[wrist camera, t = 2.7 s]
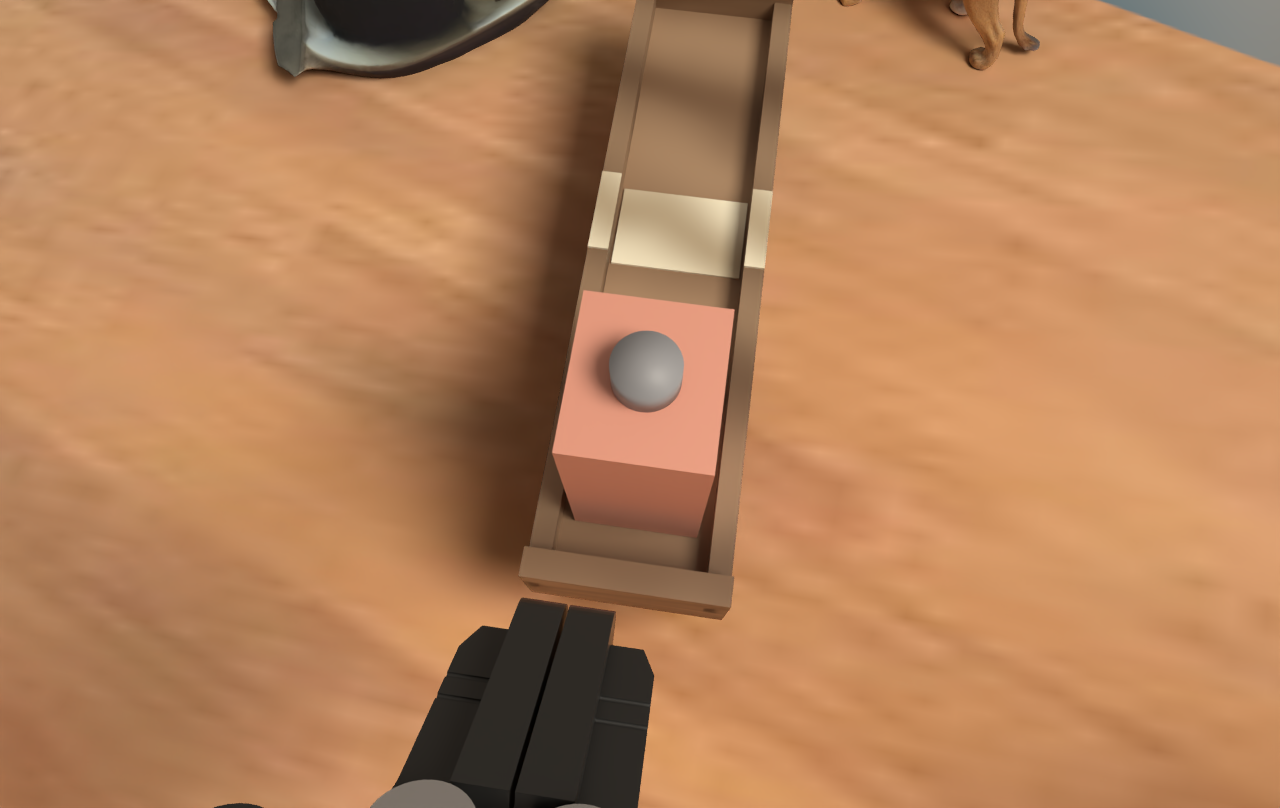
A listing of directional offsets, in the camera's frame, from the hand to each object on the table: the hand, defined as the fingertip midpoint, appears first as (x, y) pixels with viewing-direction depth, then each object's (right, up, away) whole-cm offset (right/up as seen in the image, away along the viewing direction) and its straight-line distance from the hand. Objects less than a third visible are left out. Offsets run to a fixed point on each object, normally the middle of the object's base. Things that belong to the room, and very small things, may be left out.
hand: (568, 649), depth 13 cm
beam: (+3, +8, +26) cm, 27 cm away
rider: (+1, +2, +17) cm, 17 cm away
